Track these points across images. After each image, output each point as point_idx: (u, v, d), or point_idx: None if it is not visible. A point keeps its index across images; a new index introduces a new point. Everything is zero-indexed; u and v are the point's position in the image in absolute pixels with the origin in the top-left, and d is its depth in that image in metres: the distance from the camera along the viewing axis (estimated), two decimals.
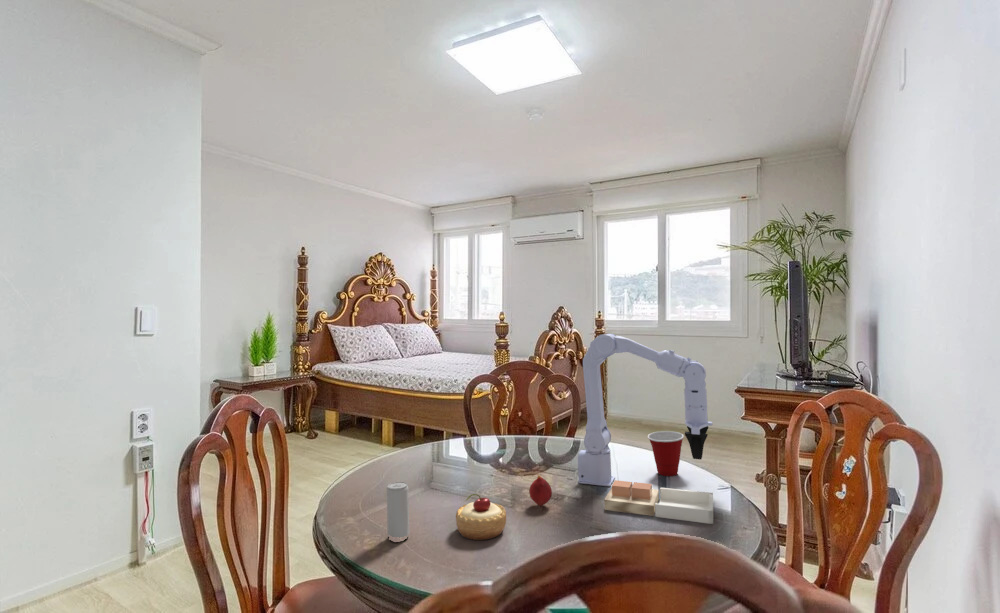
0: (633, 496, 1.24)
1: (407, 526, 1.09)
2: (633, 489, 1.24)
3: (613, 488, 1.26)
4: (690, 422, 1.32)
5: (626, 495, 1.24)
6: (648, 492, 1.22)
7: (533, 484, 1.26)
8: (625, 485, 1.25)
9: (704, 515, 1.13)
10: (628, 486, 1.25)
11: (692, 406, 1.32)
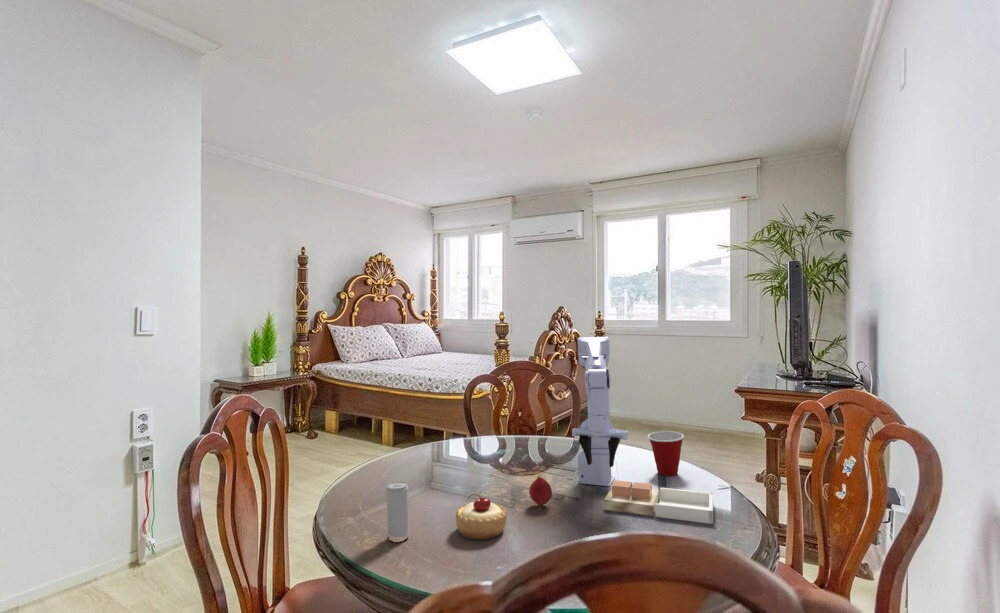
0: (633, 496, 1.24)
1: (407, 526, 1.09)
2: (633, 489, 1.24)
3: (613, 488, 1.26)
4: None
5: (626, 495, 1.24)
6: (648, 492, 1.22)
7: (533, 484, 1.26)
8: (625, 485, 1.25)
9: (704, 515, 1.13)
10: (628, 486, 1.25)
11: None
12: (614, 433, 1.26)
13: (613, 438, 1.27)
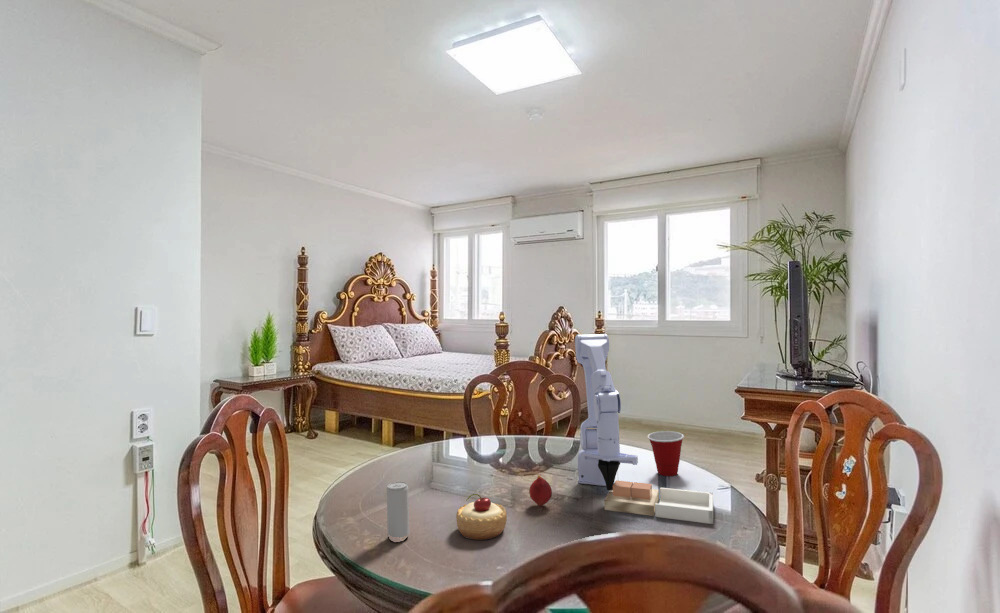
0: (633, 496, 1.24)
1: (407, 526, 1.09)
2: (633, 489, 1.24)
3: (614, 488, 1.25)
4: None
5: (627, 495, 1.24)
6: (648, 492, 1.22)
7: (533, 484, 1.26)
8: (626, 485, 1.25)
9: (704, 515, 1.13)
10: (629, 486, 1.25)
11: None
12: (624, 458, 1.25)
13: None
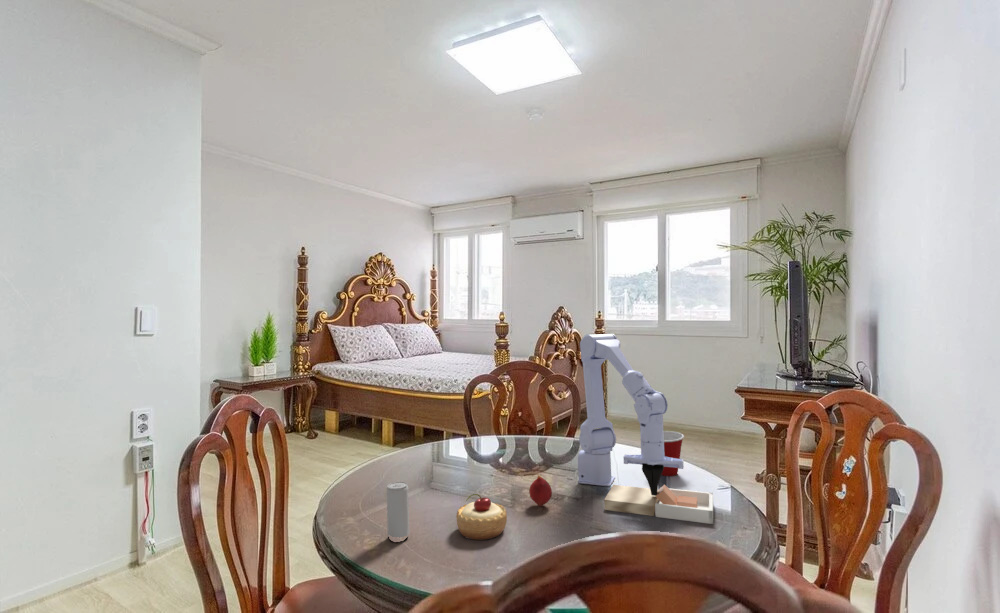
0: None
1: (407, 526, 1.09)
2: (679, 503, 1.19)
3: (662, 493, 1.21)
4: None
5: None
6: (695, 506, 1.17)
7: (533, 484, 1.26)
8: (673, 499, 1.21)
9: (704, 515, 1.13)
10: (676, 501, 1.20)
11: None
12: (669, 462, 1.21)
13: None
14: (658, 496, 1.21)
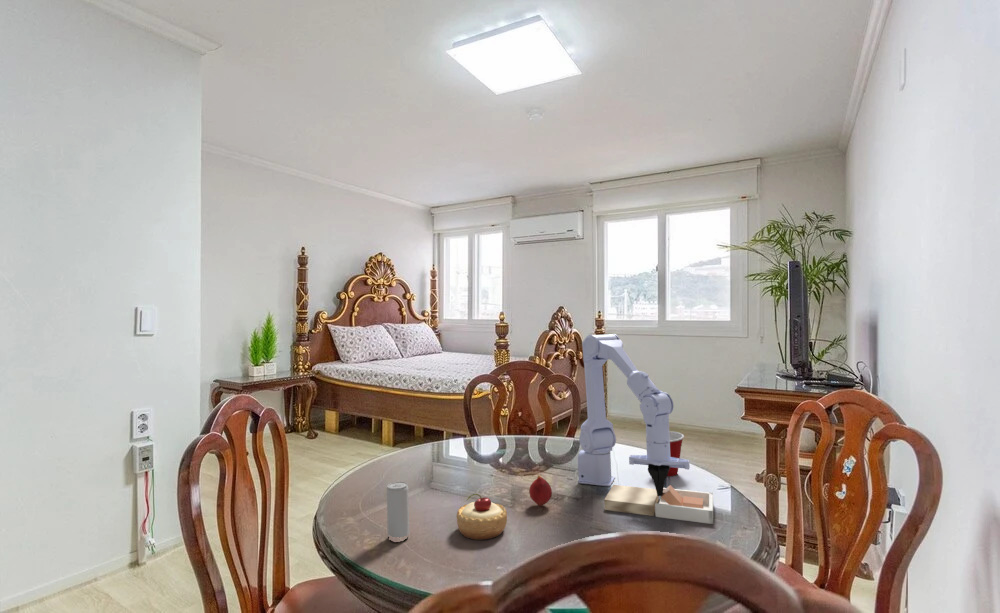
0: None
1: (407, 526, 1.09)
2: (685, 504, 1.18)
3: (668, 493, 1.20)
4: None
5: None
6: (701, 507, 1.17)
7: (533, 484, 1.26)
8: (679, 500, 1.20)
9: (704, 515, 1.13)
10: (682, 502, 1.20)
11: None
12: (675, 462, 1.20)
13: (674, 467, 1.21)
14: (664, 496, 1.20)
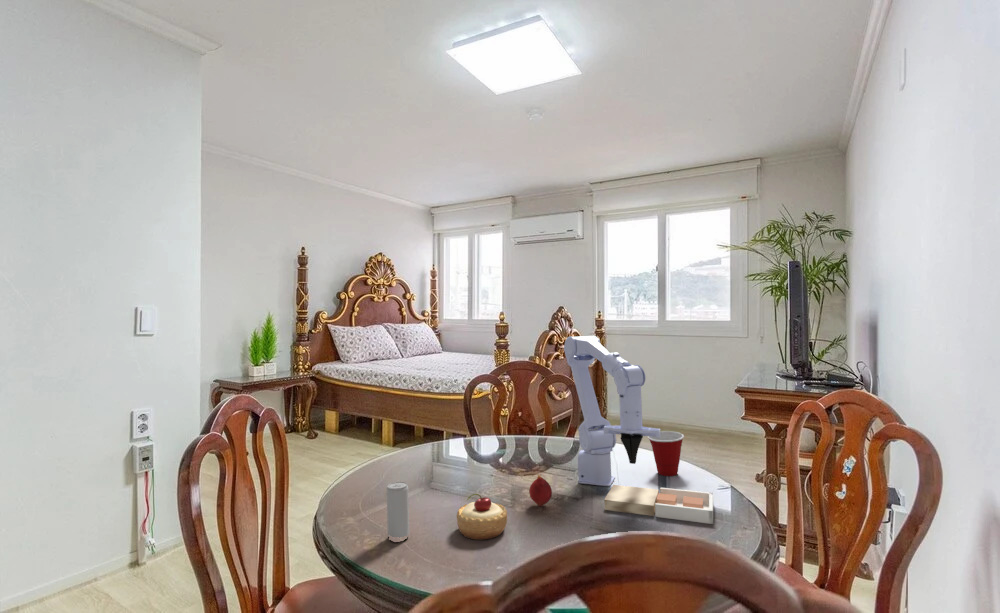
0: None
1: (407, 526, 1.09)
2: (685, 504, 1.18)
3: (658, 502, 1.21)
4: None
5: None
6: (701, 507, 1.17)
7: (533, 484, 1.26)
8: (670, 499, 1.21)
9: (704, 515, 1.13)
10: (674, 499, 1.21)
11: None
12: (647, 431, 1.26)
13: None
14: None
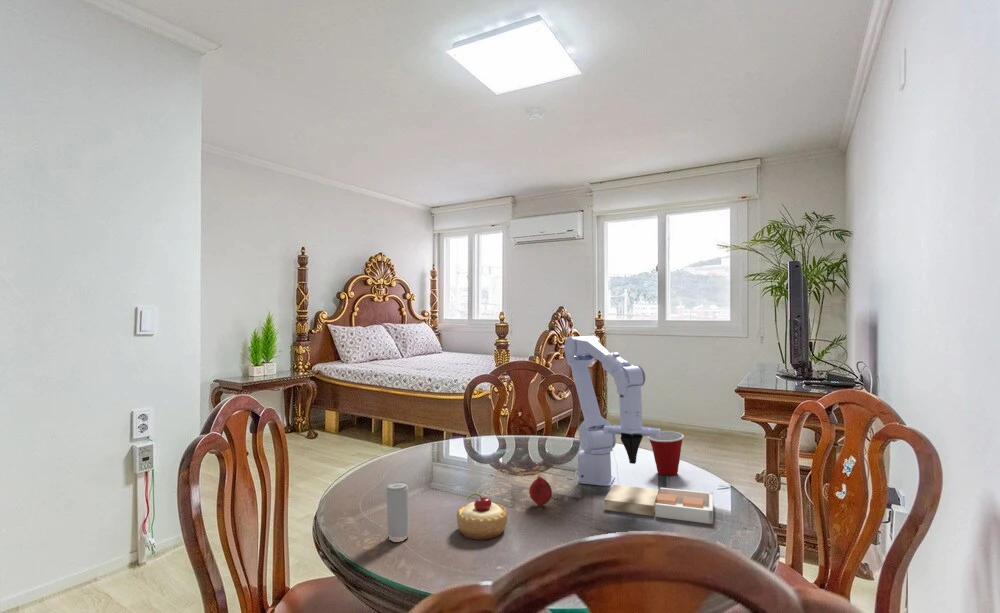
0: None
1: (407, 526, 1.09)
2: (685, 504, 1.18)
3: (658, 502, 1.21)
4: None
5: None
6: (701, 507, 1.17)
7: (533, 484, 1.26)
8: (670, 499, 1.21)
9: (704, 515, 1.13)
10: (674, 499, 1.21)
11: None
12: (647, 431, 1.26)
13: None
14: None
